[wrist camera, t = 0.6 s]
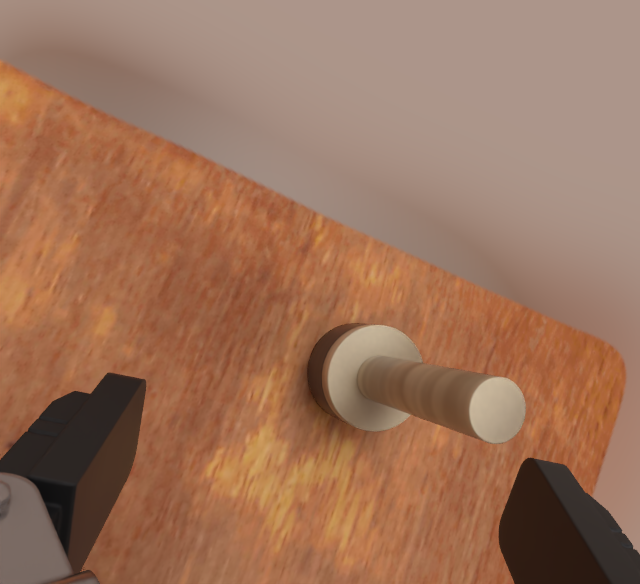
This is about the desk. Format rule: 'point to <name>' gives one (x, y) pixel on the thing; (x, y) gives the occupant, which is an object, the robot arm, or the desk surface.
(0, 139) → the desk surface
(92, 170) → the desk surface
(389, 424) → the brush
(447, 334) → the desk surface
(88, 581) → the robot arm
